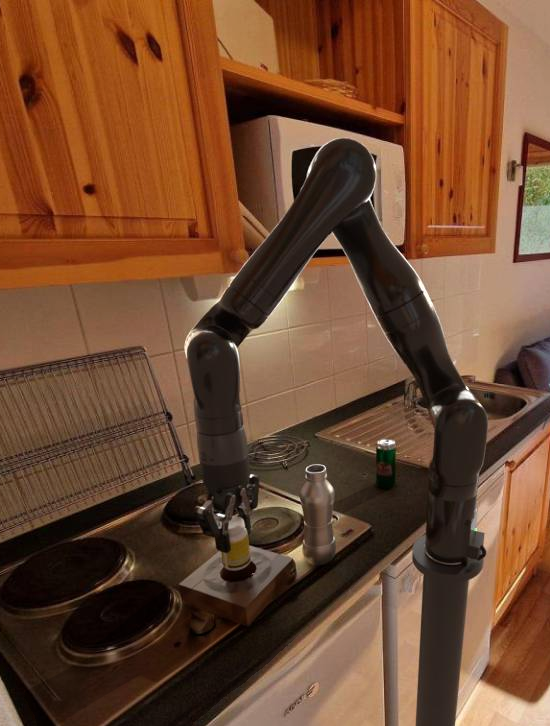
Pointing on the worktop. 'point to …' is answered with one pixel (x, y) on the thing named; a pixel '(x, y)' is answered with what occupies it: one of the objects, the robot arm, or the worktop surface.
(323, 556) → the silver metal bottle
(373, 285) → the robot arm
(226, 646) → the worktop surface
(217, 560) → the bottle holder
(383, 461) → the soda can
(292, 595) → the worktop surface
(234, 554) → the supplement bottle
